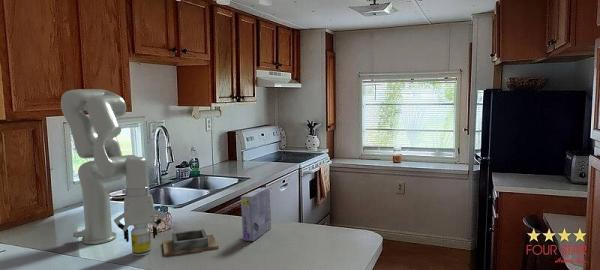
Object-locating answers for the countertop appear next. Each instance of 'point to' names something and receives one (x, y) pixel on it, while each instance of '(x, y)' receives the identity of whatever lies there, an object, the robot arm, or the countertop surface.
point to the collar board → (189, 242)
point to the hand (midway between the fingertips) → (141, 239)
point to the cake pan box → (256, 213)
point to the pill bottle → (141, 240)
